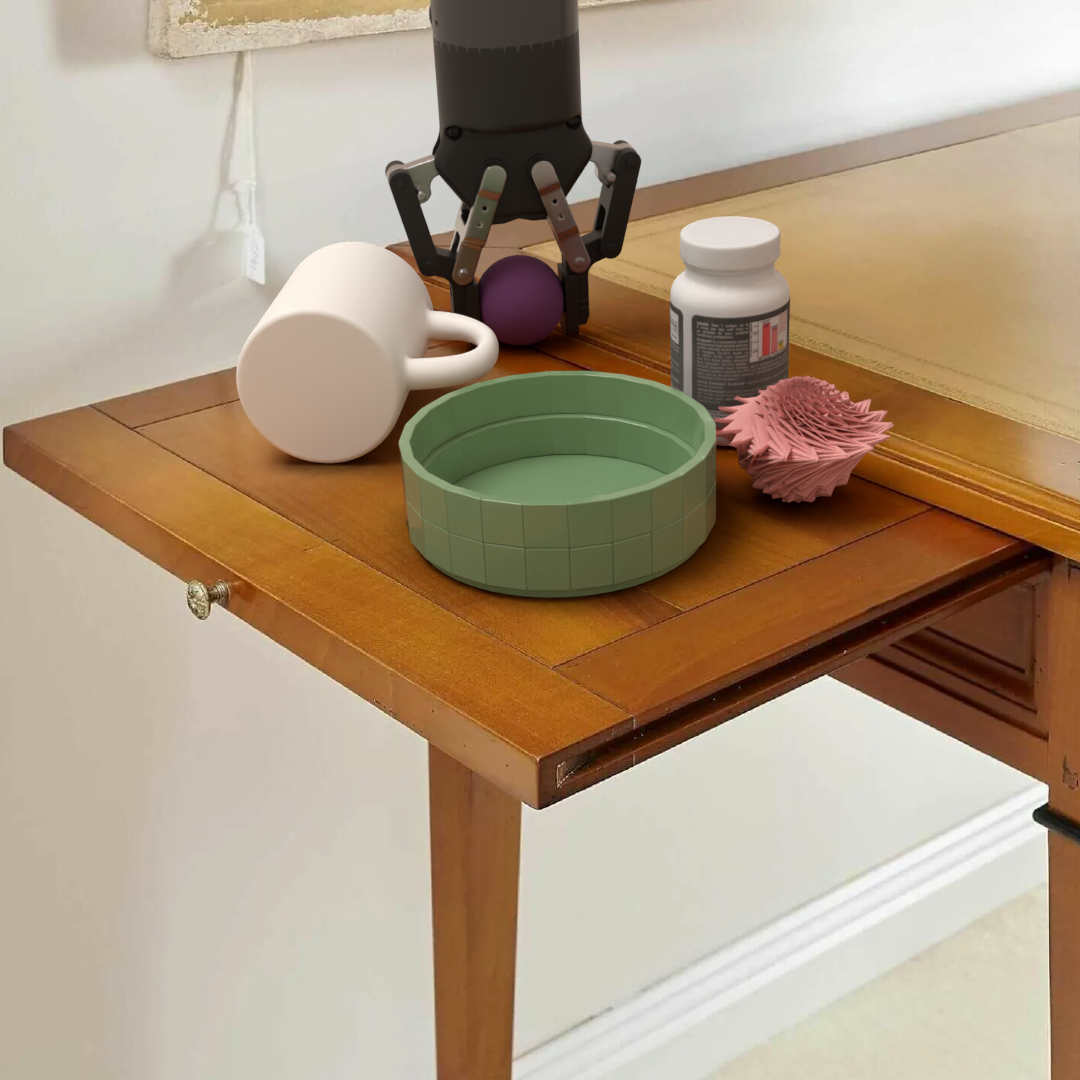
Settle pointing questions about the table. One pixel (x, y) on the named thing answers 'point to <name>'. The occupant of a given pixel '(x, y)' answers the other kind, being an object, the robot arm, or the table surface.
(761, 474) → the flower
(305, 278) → the mug
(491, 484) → the bowl
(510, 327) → the ball
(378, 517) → the table surface
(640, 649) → the table surface
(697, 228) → the pill bottle
